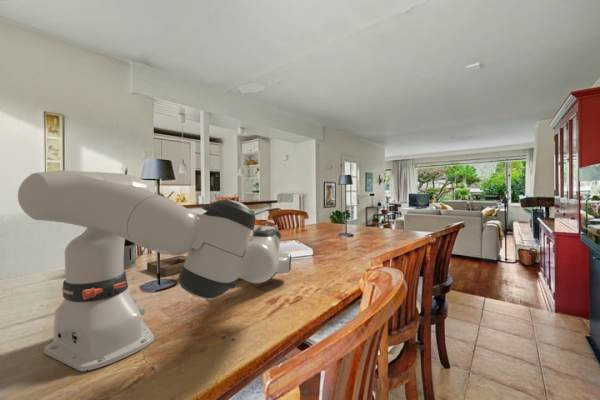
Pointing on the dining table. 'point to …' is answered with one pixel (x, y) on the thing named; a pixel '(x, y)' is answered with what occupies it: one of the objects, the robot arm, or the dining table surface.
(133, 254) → the glass holder
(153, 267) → the walnut collar
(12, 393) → the dining table surface
